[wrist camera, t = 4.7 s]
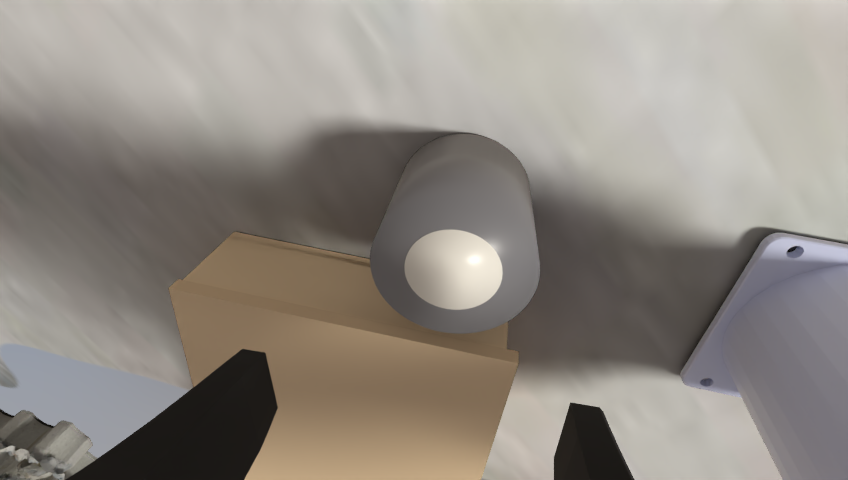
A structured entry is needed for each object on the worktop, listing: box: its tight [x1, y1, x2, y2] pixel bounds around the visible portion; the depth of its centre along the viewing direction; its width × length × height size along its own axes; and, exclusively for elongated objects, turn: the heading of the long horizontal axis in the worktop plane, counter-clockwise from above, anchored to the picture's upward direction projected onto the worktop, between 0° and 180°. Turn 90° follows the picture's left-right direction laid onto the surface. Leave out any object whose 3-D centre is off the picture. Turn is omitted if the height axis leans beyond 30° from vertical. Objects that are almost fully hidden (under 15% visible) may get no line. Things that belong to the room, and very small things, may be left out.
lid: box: [168, 279, 519, 480], centre depth 21 cm, size 13×14×1 cm
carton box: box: [183, 232, 508, 349], centre depth 23 cm, size 13×14×4 cm
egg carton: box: [0, 409, 98, 480], centre depth 35 cm, size 11×8×4 cm
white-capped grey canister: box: [370, 134, 540, 334], centre depth 16 cm, size 5×5×5 cm
